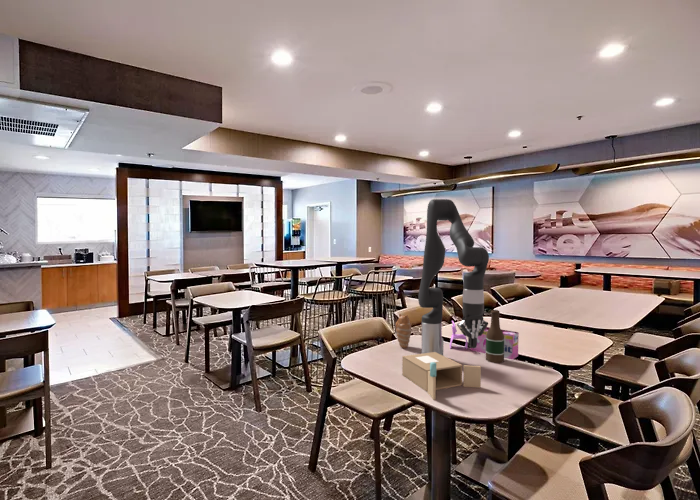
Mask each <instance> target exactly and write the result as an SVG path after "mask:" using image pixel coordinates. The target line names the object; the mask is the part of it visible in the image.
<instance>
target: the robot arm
mask: <svg viewBox="0 0 700 500" xmlns="http://www.w3.org/2000/svg"><path fill="white" fill-rule="evenodd" d="M441 221H443V222H445V221H448V222H450V224H451V226H450V229H449V237H450V240H451V242H452V243H453V245H454V246H455V248H456V251H457V257H458V261H459V263H460V264H461V265H462V266H464V267H474V268H473V270H472V271H469V272H466V273H464V274H463V283H462V284H463V287H462V289H463V291H462V306H461V307H462V308H461V309H462V310H461V311H462V315H463V317H462V321H461V322H457V324H456V325H457V327H458V329H459V330H460V331H461V333H462V334H463V335H464V336H466V338H467V342H468V347H469V348H470V349H471V348H476V346H477V338H478V336H481V335H482V334H483V332H484V330H485V329H486V327H488V325H489V322H488V321H486V320H485V319H484V313H485V293H484V279H485V278H484V277H485V274H486V271H487V267H488V264H489V259H490V254H489V252H488V250H487V249H486V248H485V247H481V246H480V247H478V246H477V247H474V246H475V240H474V239H473V236H472V235H471V234H470V233H469V231H468V229H467V228H466V227H465V225H464V222H463V220H462V218H461V215H460V213H459V211H458V208H457V206H456V204H455V202H454V201H453V200H451V199H447V198H445V199H442V198H440V199H439V198H438V199H437V198H436V199H435V198H434V199H431V200H429V202H428V203H427V208H426V233H425V243H424V250H423V259H422V260H423V262H422V274H421V280H420V285H419V290H418V296H417V297H418V298H417V299H418V301H417V302H418V305H419V306H420V307H421V308H424V309H427V308H428V309H431V310H430V311H429V312H427V313H424V314H423V315H422V316H421V354H423V353H431V352H436V353H438V354H440V355H442V356H444V338H443V337H442V336H443V331H442V329H443V327H442V325H443V324H442V323H443V311H444V310H443V308H444V294H443V290H442V288H439V287H430V286H431V283H432V280H433V279H434V278H435V277H436V275H437V274H438V273H439V272H440V270H441V269H442V267H443V266H444V265H445V258H446V257H445V256H446V247H445V244H444V243H443V241H442V239H441V237H440V235H439V232H438V222H441ZM475 328H476V329H475ZM479 331H480V332H479Z"/></svg>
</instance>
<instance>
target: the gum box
mask: <svg viewBox="0 0 700 500" xmlns="http://www.w3.org/2000/svg"><path fill="white" fill-rule="evenodd" d="M489 328H490V326H487V327H486V329H485V330H484V332H483V334H482V335H481V336H478V338H477V346H476V348H470V351H473V352H477V353H481V354H485V355H486V334H487V331H488V330H489ZM475 329H476V328H475ZM501 330H502V332H503V334H504V359H509V360H512V361H514V360H515V359H517V357H519V338H520V337H519V335H520V333H519V332H518V331H512V330H507V329H501ZM479 332H480V331H479Z"/></svg>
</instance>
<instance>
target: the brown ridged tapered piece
mask: <svg viewBox="0 0 700 500" xmlns="http://www.w3.org/2000/svg"><path fill="white" fill-rule="evenodd" d="M398 317H399V318H398V319H397V321H396V322H395V332H396V337H397V342H398V345H399V347H400V348H401V347H402V349H408V347H409V343H410V340H411V334H412V324H411V323H410V321H411V320H410V318H409V316H408V314H406V315H402V314H401V313H399V315H398Z"/></svg>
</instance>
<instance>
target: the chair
mask: <svg viewBox="0 0 700 500" xmlns="http://www.w3.org/2000/svg"><path fill="white" fill-rule="evenodd" d="M451 323H452V325H451V330H452V331H451V332H452V334H451V336H450V340H449V341H450V342H449V349H450V350H451V349H452V345H453V340H459V339H460V340H465V345H464V346H465V349H466V350H468V347H469V345H468V338H467V336H464V335H463V333H462V334H460V333H459V334H458V333H457V331H458V330H457V328H456V324H455V322H454V320H451Z"/></svg>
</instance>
